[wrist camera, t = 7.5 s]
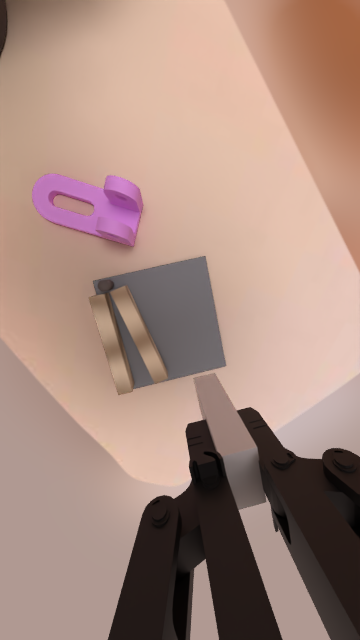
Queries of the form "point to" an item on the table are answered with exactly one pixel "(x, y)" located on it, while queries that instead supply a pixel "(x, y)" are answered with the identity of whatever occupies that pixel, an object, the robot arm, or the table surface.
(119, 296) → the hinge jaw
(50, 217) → the bracket
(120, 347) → the tongs base
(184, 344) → the mat
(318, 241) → the table surface
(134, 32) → the table surface
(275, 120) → the table surface
